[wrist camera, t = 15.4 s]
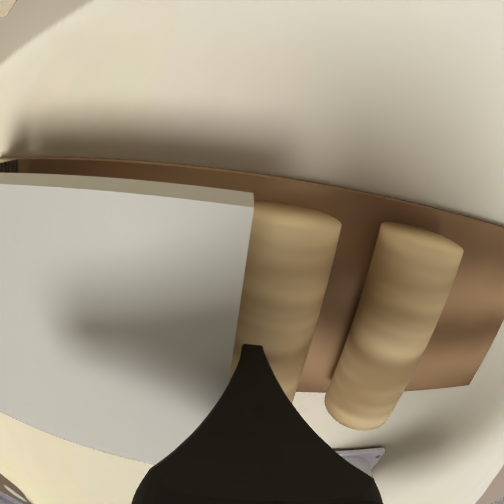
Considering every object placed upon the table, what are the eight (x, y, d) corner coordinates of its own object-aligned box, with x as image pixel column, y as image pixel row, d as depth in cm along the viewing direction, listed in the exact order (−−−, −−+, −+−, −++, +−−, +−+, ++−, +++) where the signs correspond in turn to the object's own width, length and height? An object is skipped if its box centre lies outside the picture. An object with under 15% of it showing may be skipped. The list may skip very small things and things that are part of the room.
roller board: (463, 377, 20) (509, 447, 12) (21, 329, 18) (-40, 400, 10) (524, 233, 15) (605, 282, 8) (0, 157, 14) (-102, 186, 6)
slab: (218, 442, 14) (215, 474, 12) (14, 388, 13) (-1, 411, 11) (253, 192, 10) (254, 207, 8) (-32, 172, 9) (-65, 182, 7)
